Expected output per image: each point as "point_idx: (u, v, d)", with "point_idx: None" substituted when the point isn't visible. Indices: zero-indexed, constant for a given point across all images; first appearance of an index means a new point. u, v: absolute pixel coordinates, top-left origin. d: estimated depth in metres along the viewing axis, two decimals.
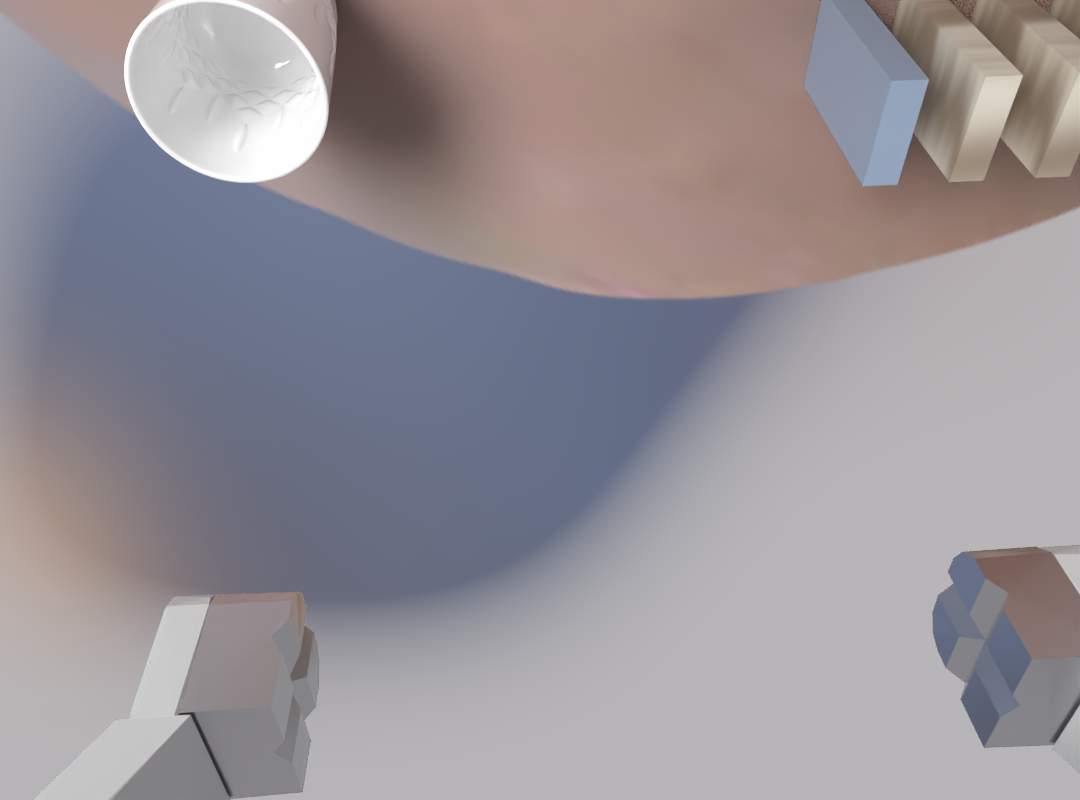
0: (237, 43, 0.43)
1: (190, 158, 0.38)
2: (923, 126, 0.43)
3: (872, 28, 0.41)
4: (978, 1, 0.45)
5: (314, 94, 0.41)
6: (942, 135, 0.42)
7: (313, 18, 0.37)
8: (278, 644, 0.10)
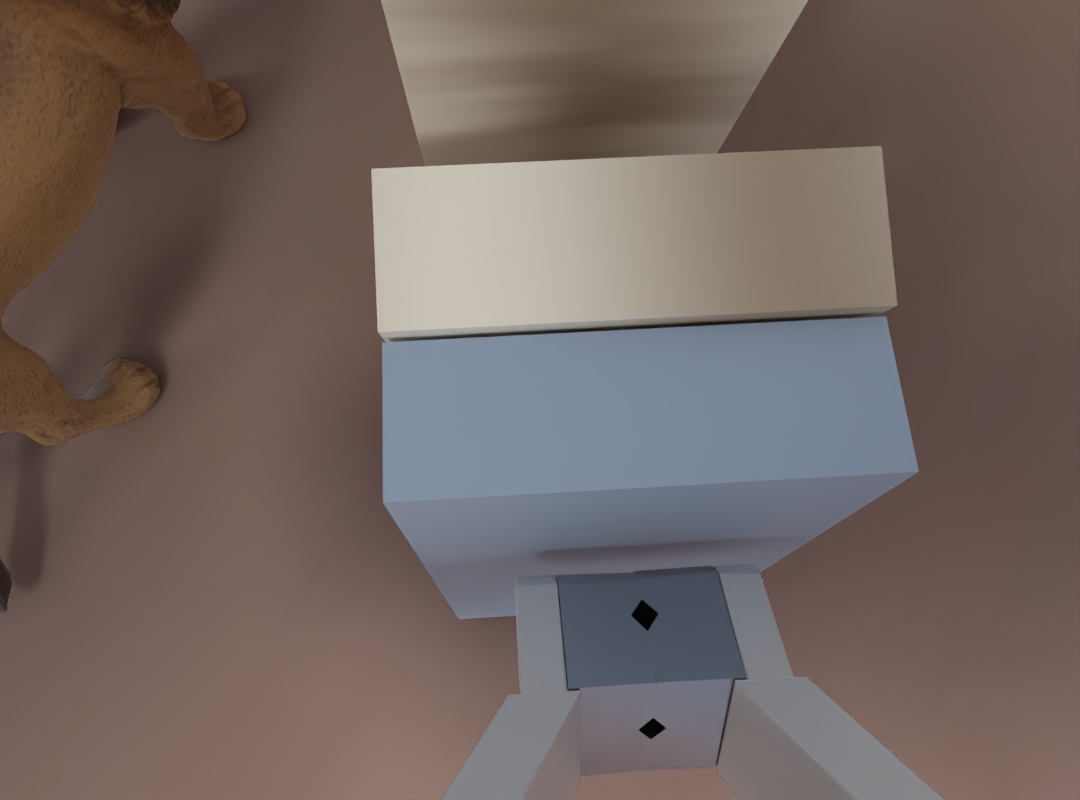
0: None
1: None
2: None
3: None
4: None
5: None
6: None
7: None
8: None
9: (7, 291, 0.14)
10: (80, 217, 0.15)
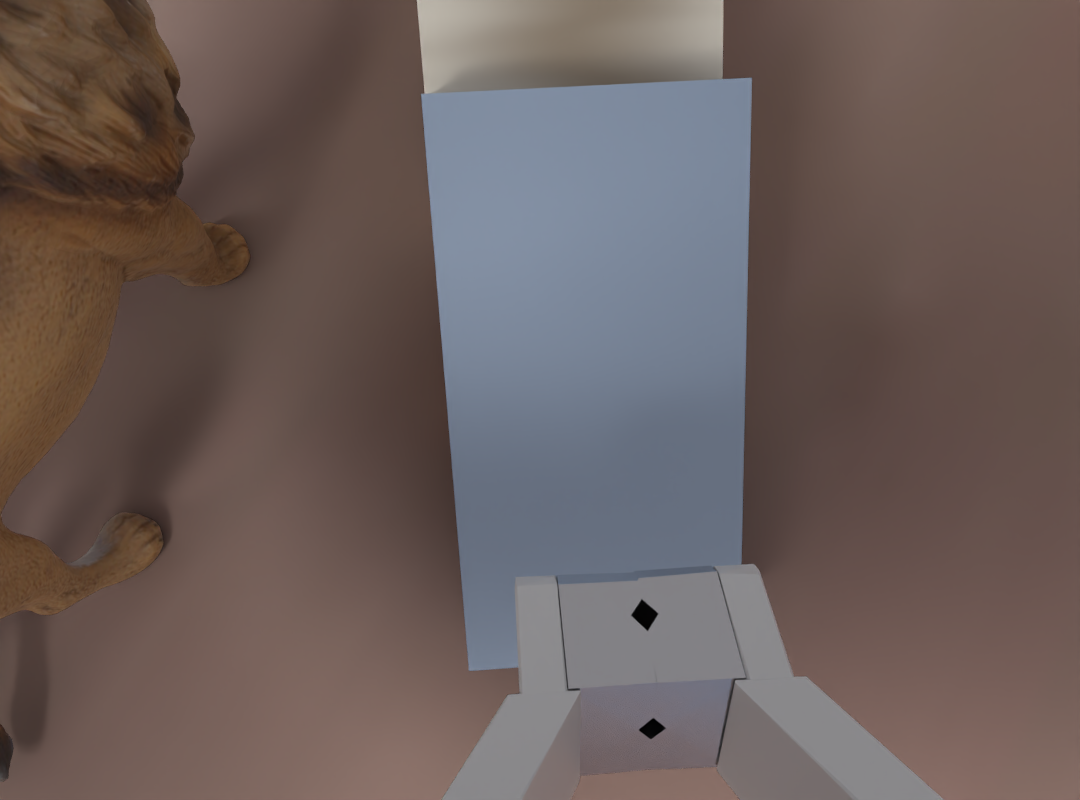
0: None
1: None
2: None
3: None
4: None
5: None
6: None
7: None
8: None
9: (7, 489, 0.14)
10: (82, 402, 0.14)
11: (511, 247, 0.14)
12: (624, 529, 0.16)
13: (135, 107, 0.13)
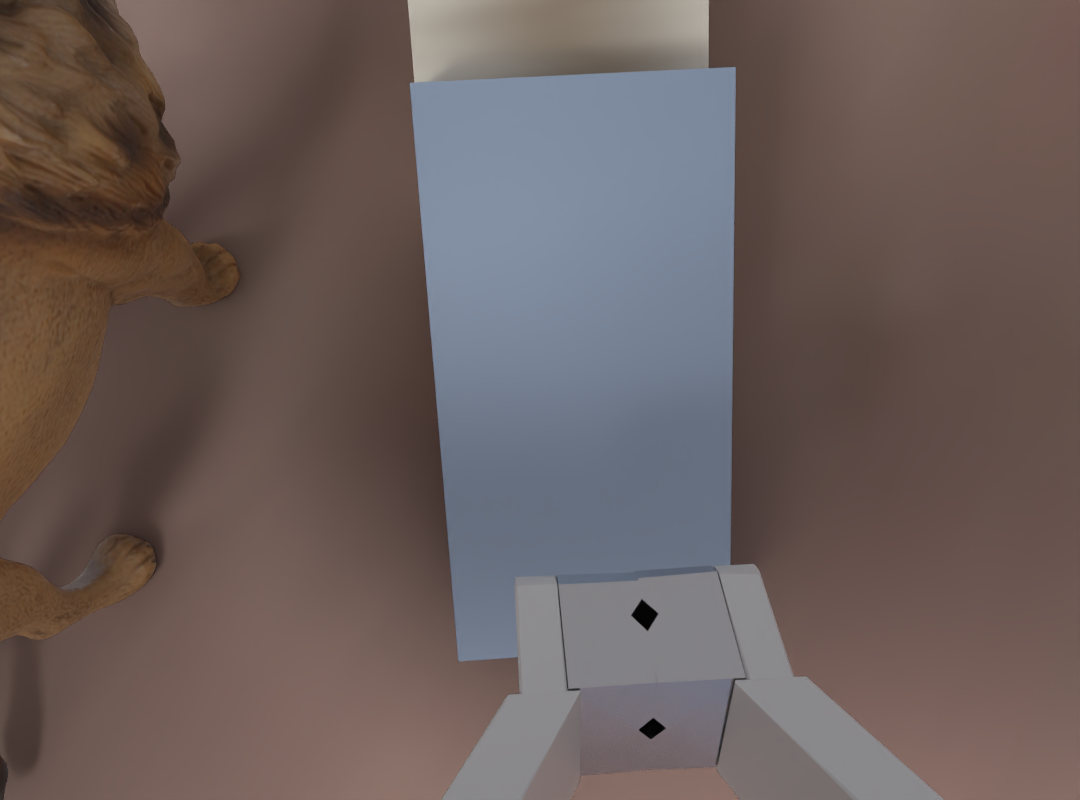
0: None
1: None
2: (664, 68, 0.15)
3: None
4: None
5: None
6: None
7: None
8: None
9: None
10: (71, 427, 0.14)
11: (499, 235, 0.14)
12: (613, 518, 0.16)
13: (119, 133, 0.13)
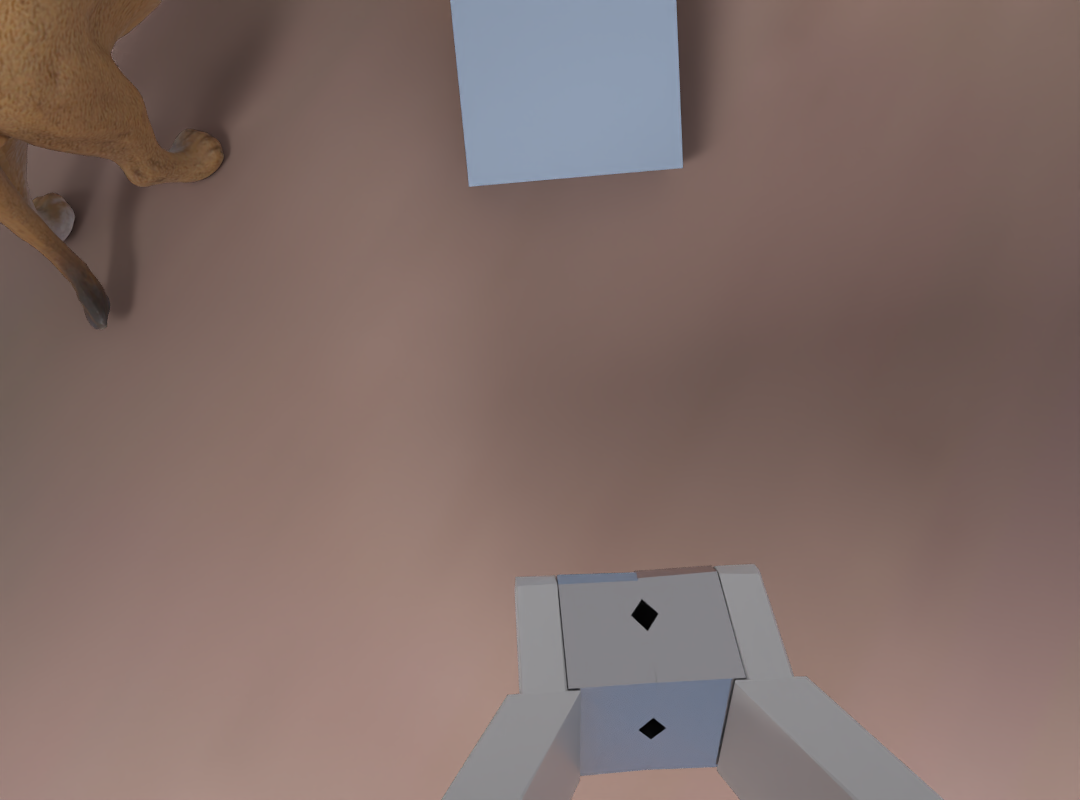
0: None
1: None
2: None
3: None
4: None
5: None
6: None
7: None
8: None
9: (117, 26, 0.18)
10: None
11: None
12: (586, 55, 0.20)
13: None
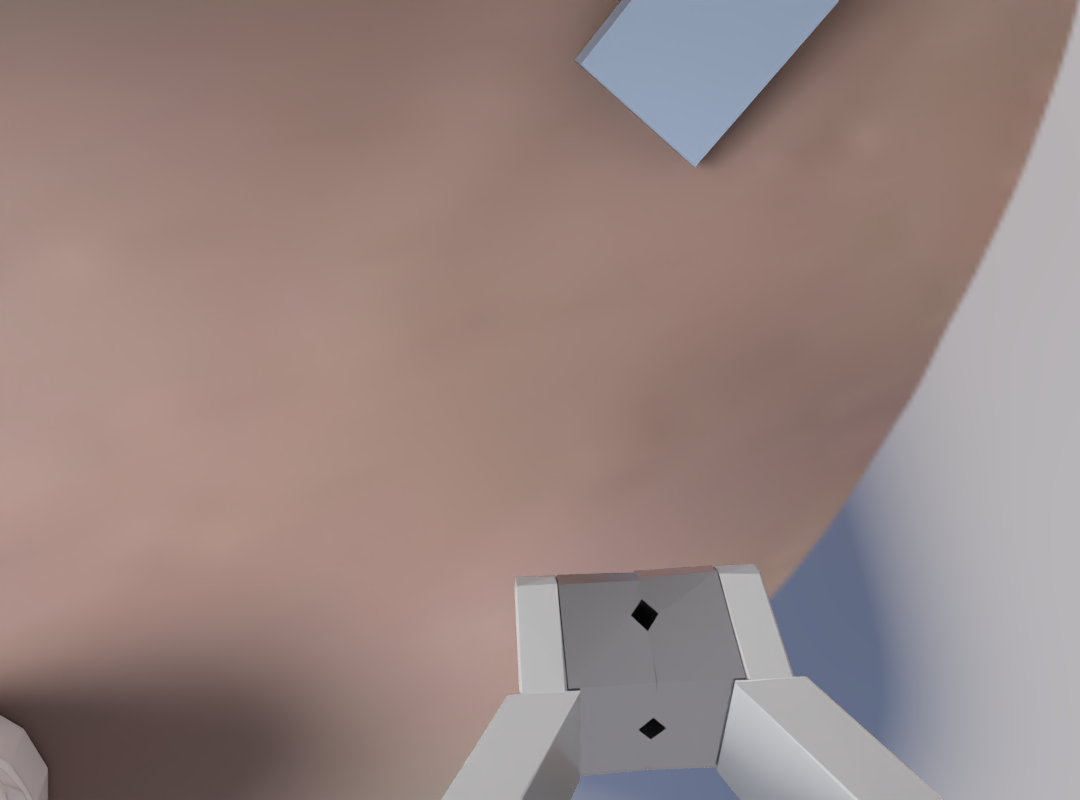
0: None
1: None
2: None
3: None
4: None
5: None
6: None
7: None
8: None
9: None
10: None
11: None
12: (705, 58, 0.28)
13: None
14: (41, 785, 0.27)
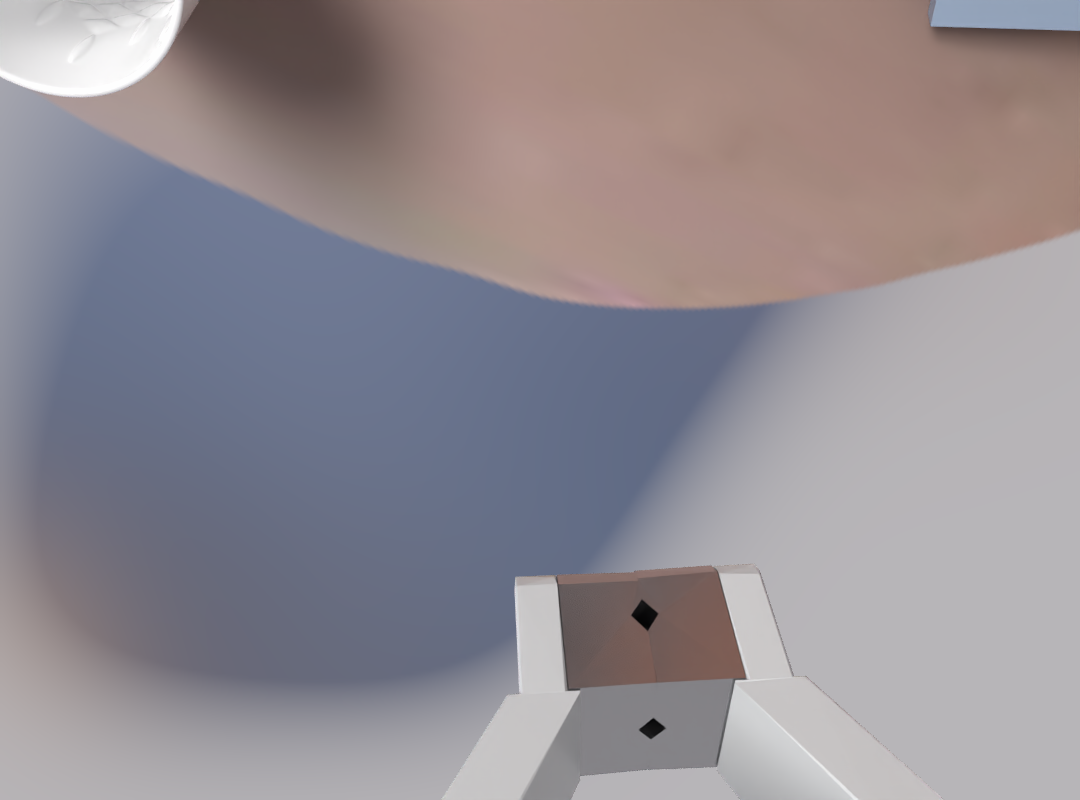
0: None
1: None
2: None
3: None
4: None
5: None
6: None
7: None
8: None
9: None
10: None
11: None
12: None
13: None
14: None
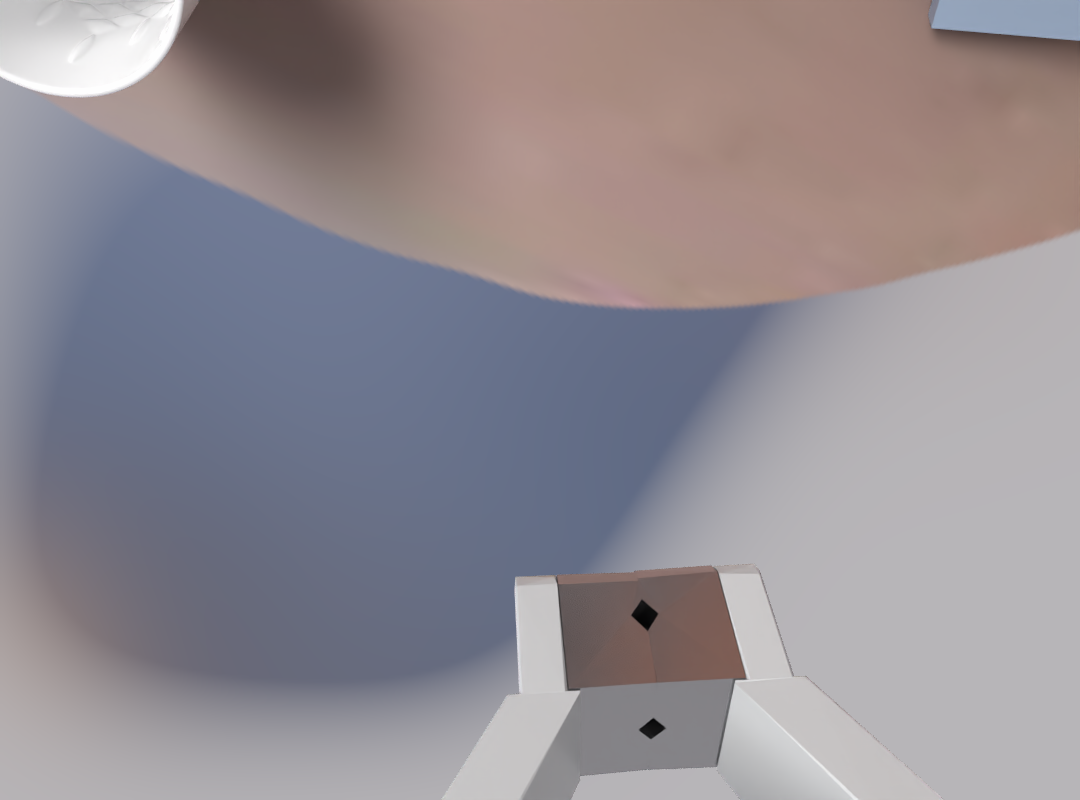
0: None
1: None
2: None
3: None
4: None
5: None
6: None
7: None
8: None
9: None
10: None
11: None
12: None
13: None
14: None
